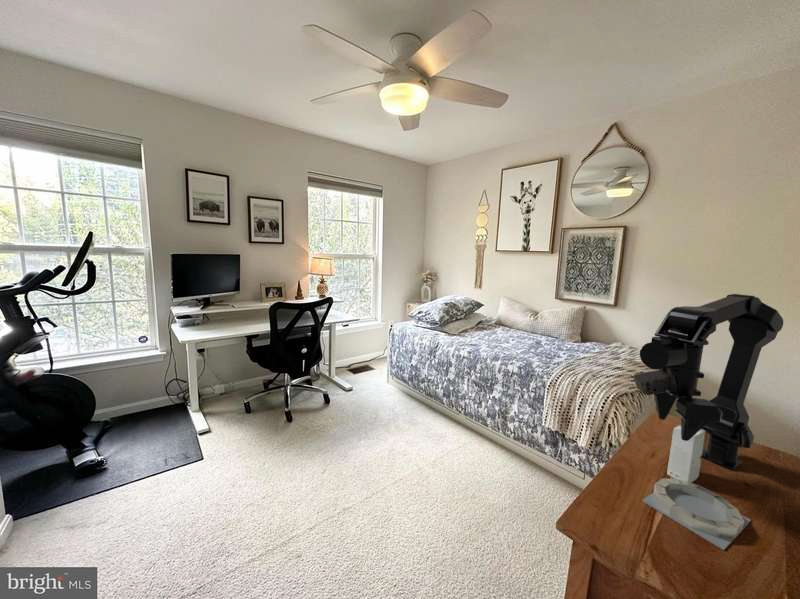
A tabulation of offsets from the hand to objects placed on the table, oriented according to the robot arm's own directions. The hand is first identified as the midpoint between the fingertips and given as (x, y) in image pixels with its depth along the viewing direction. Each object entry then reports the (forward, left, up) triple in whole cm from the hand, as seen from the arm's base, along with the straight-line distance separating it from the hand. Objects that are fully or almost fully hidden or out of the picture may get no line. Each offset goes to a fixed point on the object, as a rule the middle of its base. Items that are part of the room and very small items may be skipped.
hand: (672, 429), depth 75 cm
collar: (+6, +8, -13) cm, 16 cm away
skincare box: (-5, +1, -13) cm, 14 cm away
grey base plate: (+6, +8, -13) cm, 16 cm away
